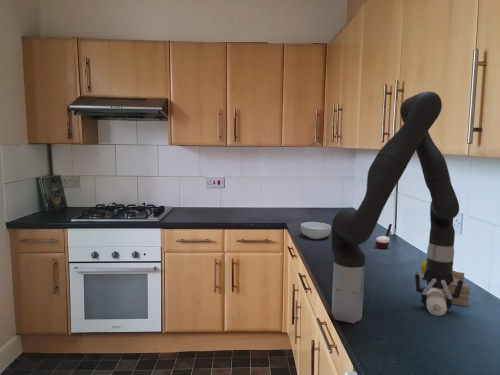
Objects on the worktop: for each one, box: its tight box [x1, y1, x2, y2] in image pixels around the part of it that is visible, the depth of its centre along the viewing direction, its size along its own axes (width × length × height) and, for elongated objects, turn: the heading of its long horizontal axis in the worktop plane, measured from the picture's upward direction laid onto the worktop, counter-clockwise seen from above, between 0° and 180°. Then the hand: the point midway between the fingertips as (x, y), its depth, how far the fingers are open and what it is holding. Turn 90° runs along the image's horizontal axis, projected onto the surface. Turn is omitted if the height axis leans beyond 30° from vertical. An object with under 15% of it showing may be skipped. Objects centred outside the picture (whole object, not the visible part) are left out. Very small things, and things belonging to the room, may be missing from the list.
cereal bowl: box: [300, 221, 332, 240], centre depth 200 cm, size 17×17×7 cm
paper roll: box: [426, 287, 448, 317], centre depth 116 cm, size 9×6×6 cm
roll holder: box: [435, 270, 471, 307], centre depth 127 cm, size 13×10×7 cm
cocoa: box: [374, 223, 393, 250], centre depth 182 cm, size 10×6×12 cm, turn 91°
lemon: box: [420, 259, 427, 273], centre depth 143 cm, size 6×6×8 cm
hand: (435, 306), depth 117 cm, fingers open, 6 cm apart
